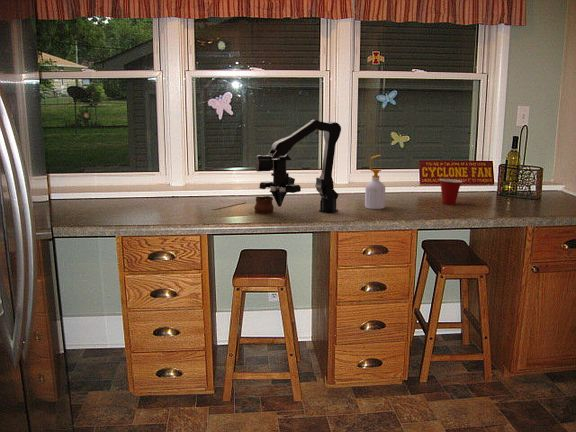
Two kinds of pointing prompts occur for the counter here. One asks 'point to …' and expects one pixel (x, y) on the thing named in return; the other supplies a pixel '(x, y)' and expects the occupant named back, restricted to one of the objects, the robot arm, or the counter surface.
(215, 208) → the strip
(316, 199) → the counter surface
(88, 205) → the counter surface
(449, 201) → the plastic cup
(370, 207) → the soap bottle
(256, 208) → the ceramic pot
